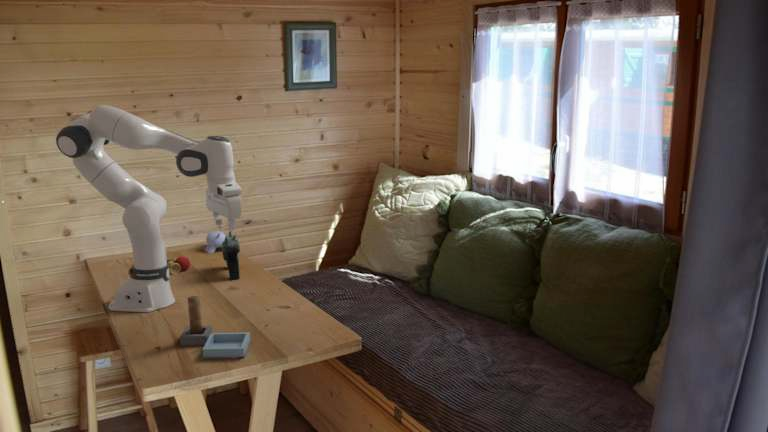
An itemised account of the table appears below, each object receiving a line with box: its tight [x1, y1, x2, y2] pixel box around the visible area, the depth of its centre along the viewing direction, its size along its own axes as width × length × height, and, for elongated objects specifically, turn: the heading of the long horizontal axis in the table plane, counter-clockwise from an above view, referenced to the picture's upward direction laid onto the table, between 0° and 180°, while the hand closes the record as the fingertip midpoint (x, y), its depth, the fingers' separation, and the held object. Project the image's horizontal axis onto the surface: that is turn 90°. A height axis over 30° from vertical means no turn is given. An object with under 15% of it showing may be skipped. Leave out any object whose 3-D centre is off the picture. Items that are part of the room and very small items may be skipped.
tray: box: [202, 331, 252, 360], centre depth 214 cm, size 12×12×3 cm
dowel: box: [187, 295, 203, 334], centre depth 220 cm, size 4×4×14 cm
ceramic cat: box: [222, 231, 241, 281], centre depth 284 cm, size 20×6×20 cm, turn 17°
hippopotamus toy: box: [204, 230, 227, 254], centre depth 320 cm, size 11×15×10 cm
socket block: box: [179, 325, 213, 347], centre depth 222 cm, size 8×8×3 cm
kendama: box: [167, 255, 191, 275], centre depth 288 cm, size 8×6×18 cm
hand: (224, 227), depth 233 cm, fingers open, 8 cm apart
